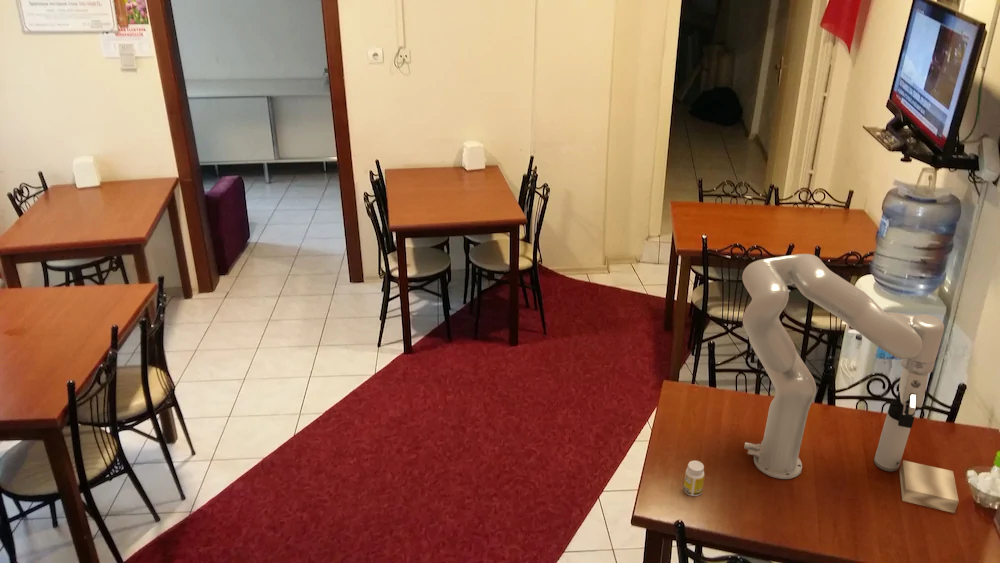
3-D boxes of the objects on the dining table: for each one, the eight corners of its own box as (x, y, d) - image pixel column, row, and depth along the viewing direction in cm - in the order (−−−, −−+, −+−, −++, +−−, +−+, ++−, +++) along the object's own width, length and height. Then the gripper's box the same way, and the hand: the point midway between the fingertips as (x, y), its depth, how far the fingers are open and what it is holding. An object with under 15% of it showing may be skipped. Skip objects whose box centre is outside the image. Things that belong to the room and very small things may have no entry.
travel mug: (902, 473, 206) (921, 413, 197) (876, 470, 208) (893, 410, 199) (896, 458, 212) (914, 399, 203) (871, 455, 213) (887, 396, 204)
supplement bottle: (702, 486, 202) (706, 461, 198) (700, 498, 198) (704, 473, 194) (684, 482, 204) (687, 457, 200) (682, 494, 200) (685, 469, 196)
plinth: (902, 500, 197) (905, 488, 195) (899, 471, 207) (902, 460, 205) (954, 513, 193) (958, 501, 191) (949, 482, 203) (953, 471, 201)
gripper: (937, 382, 186) (921, 438, 194) (930, 346, 200) (916, 400, 208) (903, 376, 189) (889, 431, 196) (899, 341, 203) (886, 394, 211)
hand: (903, 415), depth 202 cm, fingers open, 9 cm apart
